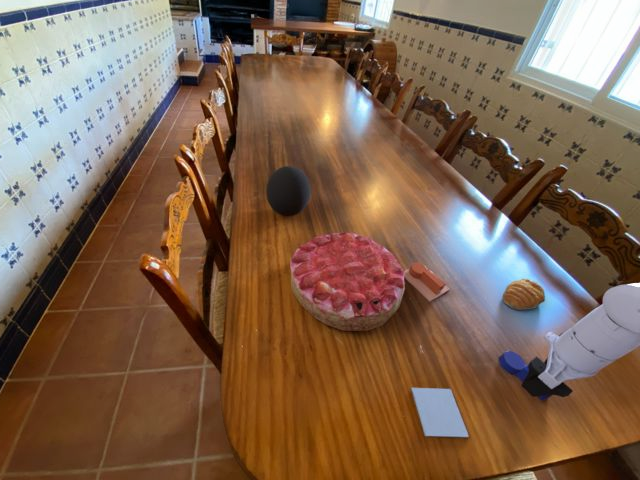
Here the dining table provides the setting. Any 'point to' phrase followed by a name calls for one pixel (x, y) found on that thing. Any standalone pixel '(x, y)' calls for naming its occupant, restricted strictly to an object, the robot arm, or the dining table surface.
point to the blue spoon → (516, 367)
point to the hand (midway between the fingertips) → (539, 379)
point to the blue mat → (439, 413)
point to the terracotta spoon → (426, 277)
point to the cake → (347, 281)
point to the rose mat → (423, 287)
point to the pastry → (523, 294)
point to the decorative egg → (288, 191)
